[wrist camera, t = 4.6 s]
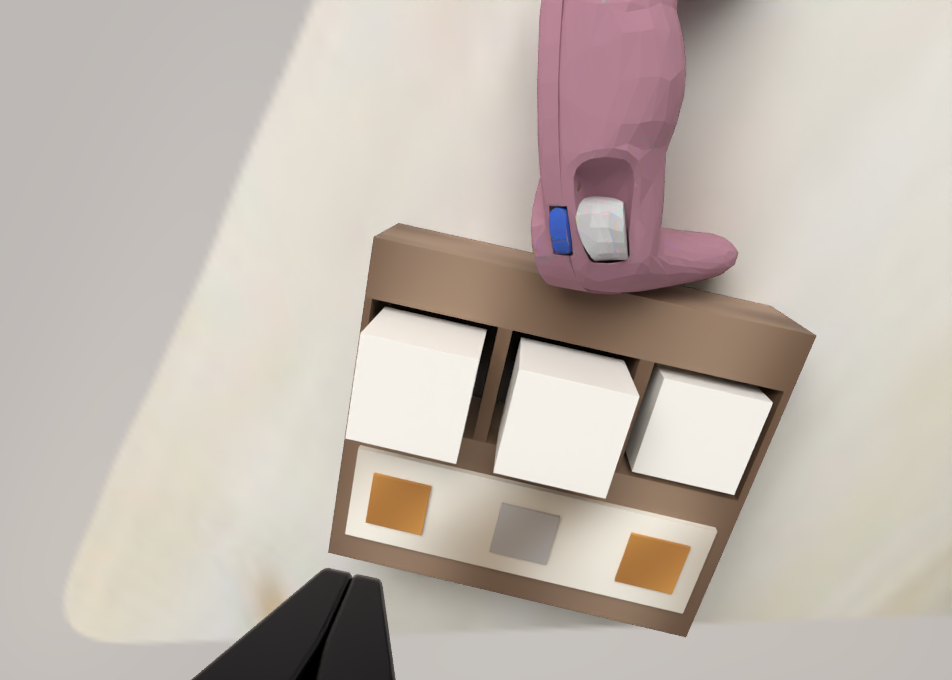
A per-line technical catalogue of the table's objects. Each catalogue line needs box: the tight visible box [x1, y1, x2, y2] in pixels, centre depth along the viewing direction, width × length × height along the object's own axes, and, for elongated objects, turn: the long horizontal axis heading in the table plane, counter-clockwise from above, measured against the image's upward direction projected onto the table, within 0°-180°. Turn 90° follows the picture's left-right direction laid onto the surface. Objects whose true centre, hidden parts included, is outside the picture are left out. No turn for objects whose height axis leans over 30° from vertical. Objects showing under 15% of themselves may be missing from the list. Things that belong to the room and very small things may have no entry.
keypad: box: [328, 223, 816, 637], centre depth 18 cm, size 12×11×3 cm
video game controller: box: [531, 0, 738, 294], centre depth 14 cm, size 10×5×7 cm, turn 1°
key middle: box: [493, 337, 640, 499], centre depth 15 cm, size 3×3×2 cm
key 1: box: [345, 306, 487, 464], centre depth 16 cm, size 3×3×2 cm
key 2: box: [625, 363, 773, 495], centre depth 17 cm, size 3×3×2 cm
